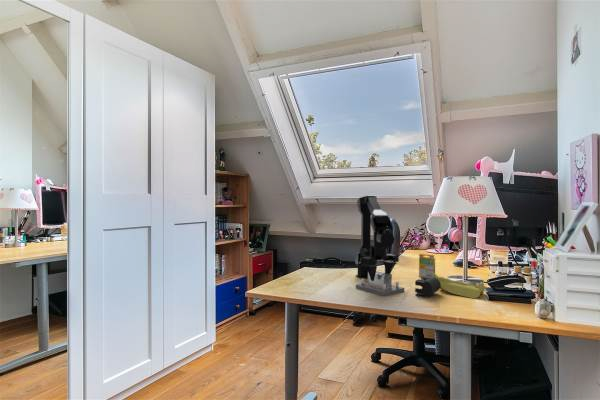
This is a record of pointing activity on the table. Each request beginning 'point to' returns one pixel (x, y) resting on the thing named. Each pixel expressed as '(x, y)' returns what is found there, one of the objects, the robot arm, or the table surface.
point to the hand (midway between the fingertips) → (379, 279)
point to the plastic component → (460, 287)
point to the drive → (381, 280)
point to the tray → (380, 291)
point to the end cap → (427, 286)
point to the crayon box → (426, 266)
